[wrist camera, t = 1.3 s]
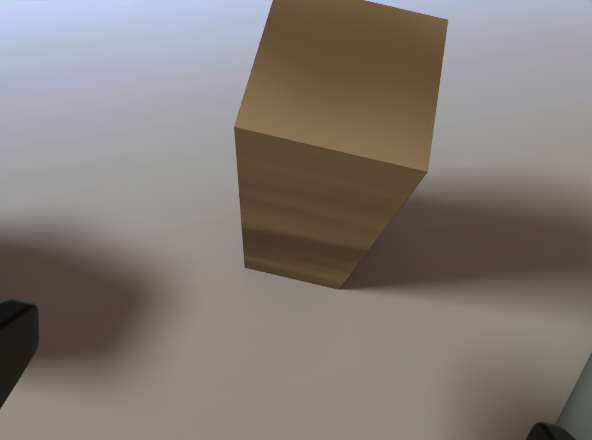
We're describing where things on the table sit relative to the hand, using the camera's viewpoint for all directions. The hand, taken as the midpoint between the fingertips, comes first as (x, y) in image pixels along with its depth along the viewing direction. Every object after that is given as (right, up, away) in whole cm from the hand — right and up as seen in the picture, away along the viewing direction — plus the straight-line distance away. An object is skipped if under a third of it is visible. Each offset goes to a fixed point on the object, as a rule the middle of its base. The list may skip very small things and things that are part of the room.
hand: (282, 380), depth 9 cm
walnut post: (+1, +2, +15) cm, 15 cm away
